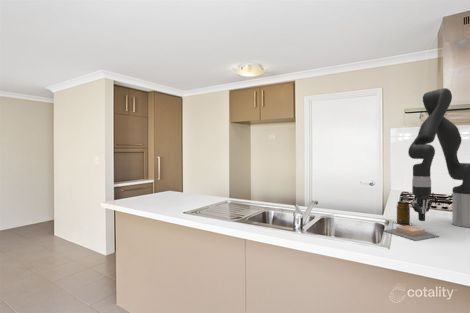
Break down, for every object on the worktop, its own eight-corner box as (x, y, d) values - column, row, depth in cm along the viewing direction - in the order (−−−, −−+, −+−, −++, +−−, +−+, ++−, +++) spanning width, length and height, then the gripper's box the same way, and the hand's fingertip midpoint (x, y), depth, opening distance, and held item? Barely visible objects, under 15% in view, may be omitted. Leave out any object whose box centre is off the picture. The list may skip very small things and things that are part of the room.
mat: (405, 227, 137) (405, 227, 137) (439, 236, 123) (439, 235, 123) (383, 231, 132) (383, 230, 132) (415, 241, 117) (415, 240, 117)
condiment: (403, 221, 151) (403, 200, 150) (416, 225, 142) (416, 203, 142) (392, 222, 149) (392, 201, 149) (405, 226, 141) (405, 203, 140)
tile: (407, 225, 132) (396, 226, 129) (424, 229, 125) (412, 231, 122) (407, 230, 132) (396, 231, 129) (424, 234, 125) (412, 236, 122)
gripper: (422, 183, 135) (423, 217, 136) (404, 185, 131) (405, 220, 131) (438, 185, 128) (438, 221, 129) (420, 187, 124) (420, 224, 124)
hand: (421, 220), depth 130 cm, fingers closed
